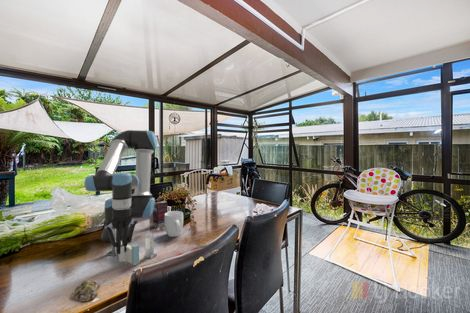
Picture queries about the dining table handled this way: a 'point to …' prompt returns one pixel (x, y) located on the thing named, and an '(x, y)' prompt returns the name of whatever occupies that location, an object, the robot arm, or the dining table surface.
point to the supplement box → (159, 213)
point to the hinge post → (112, 246)
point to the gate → (131, 253)
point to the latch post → (150, 247)
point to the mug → (173, 223)
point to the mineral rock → (86, 291)
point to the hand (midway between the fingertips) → (121, 260)
